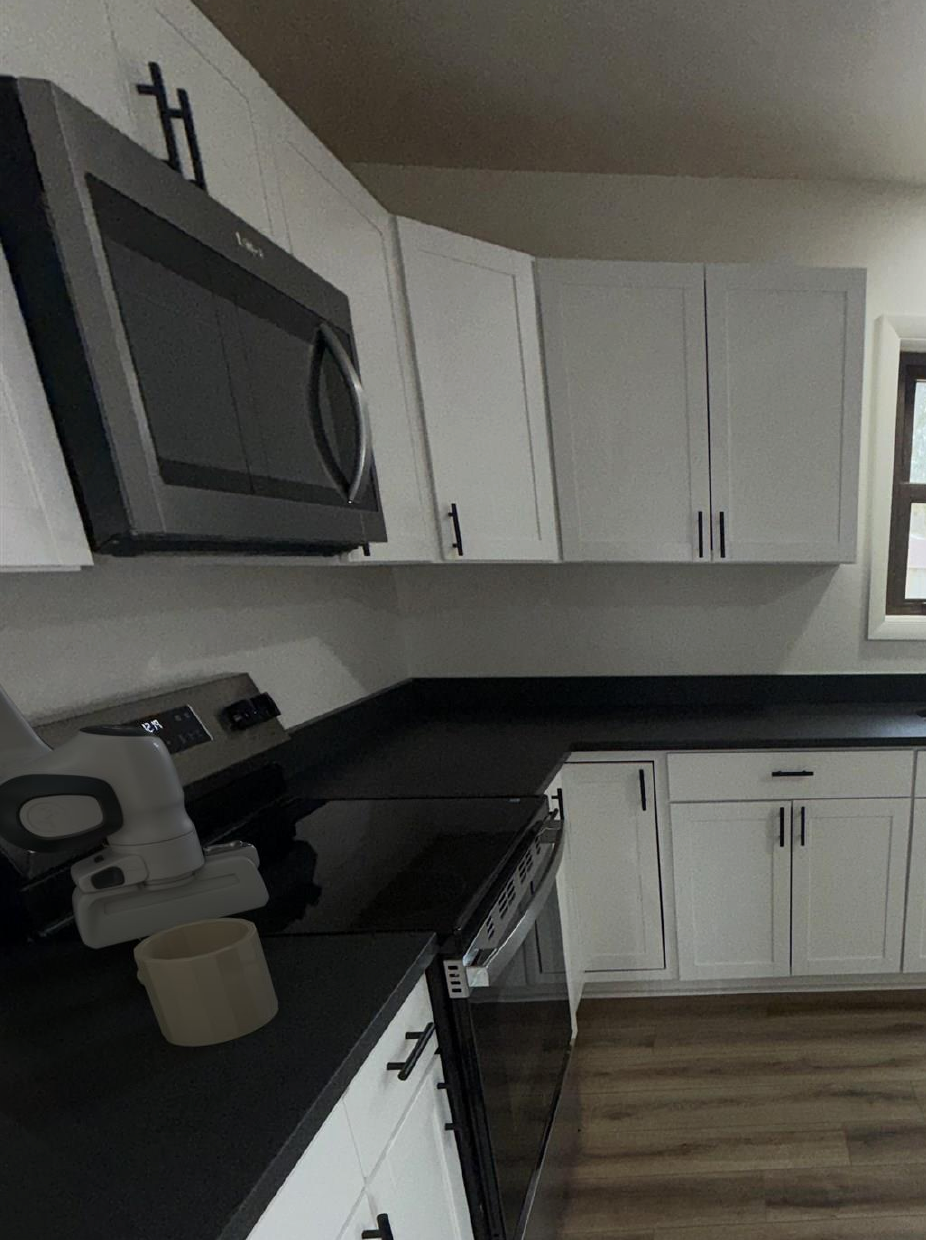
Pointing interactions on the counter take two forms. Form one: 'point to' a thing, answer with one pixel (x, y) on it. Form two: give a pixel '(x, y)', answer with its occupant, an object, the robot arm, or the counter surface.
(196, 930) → the cup
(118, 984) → the counter surface
